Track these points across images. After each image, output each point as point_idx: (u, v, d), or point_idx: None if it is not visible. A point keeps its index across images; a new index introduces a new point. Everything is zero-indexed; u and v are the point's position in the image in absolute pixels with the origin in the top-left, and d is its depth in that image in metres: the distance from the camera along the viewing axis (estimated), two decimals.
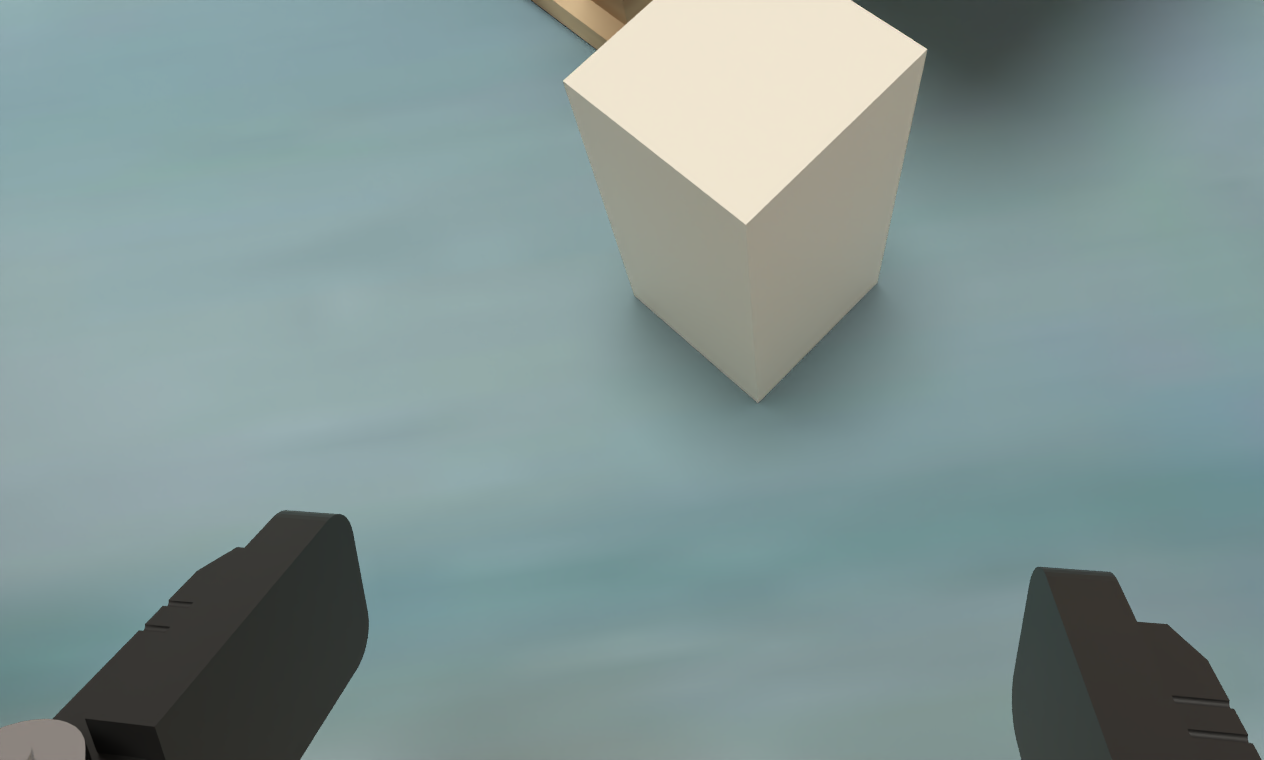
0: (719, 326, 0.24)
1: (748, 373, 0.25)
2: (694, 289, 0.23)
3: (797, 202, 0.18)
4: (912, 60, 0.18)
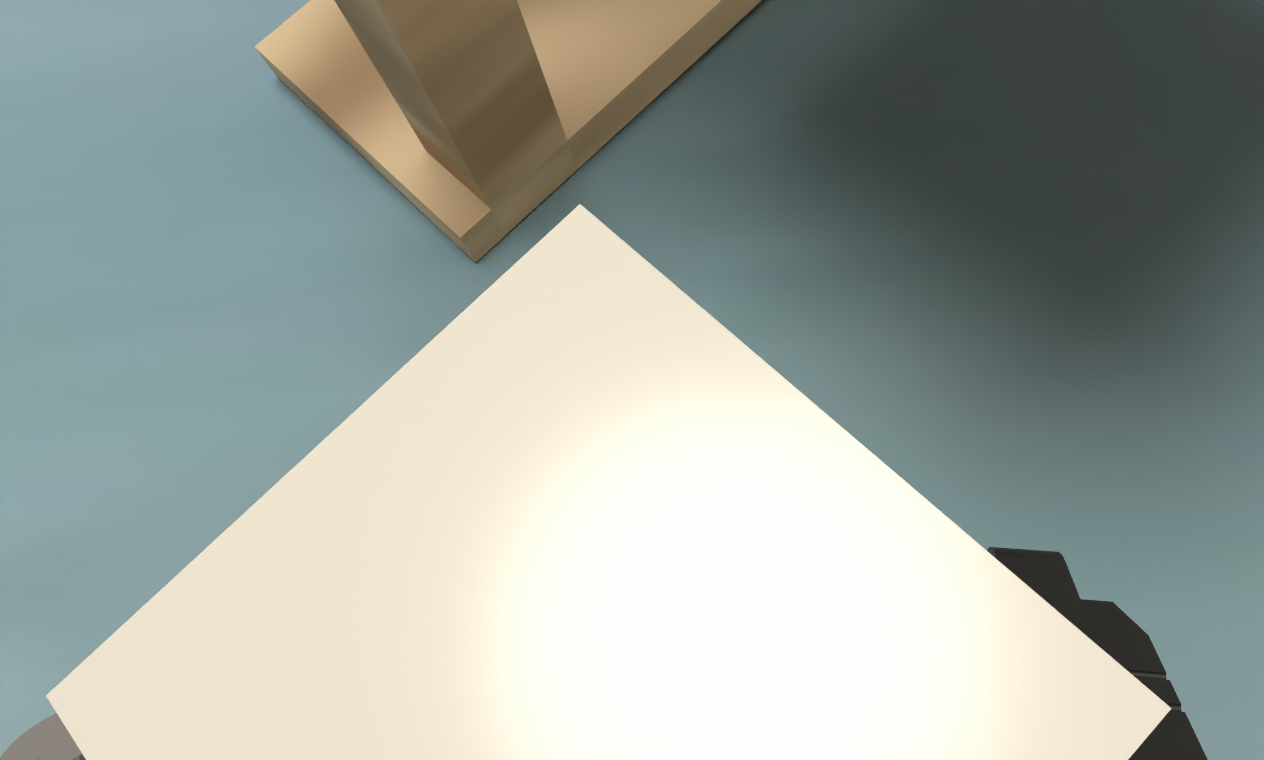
0: None
1: None
2: None
3: None
4: (1123, 751, 0.05)
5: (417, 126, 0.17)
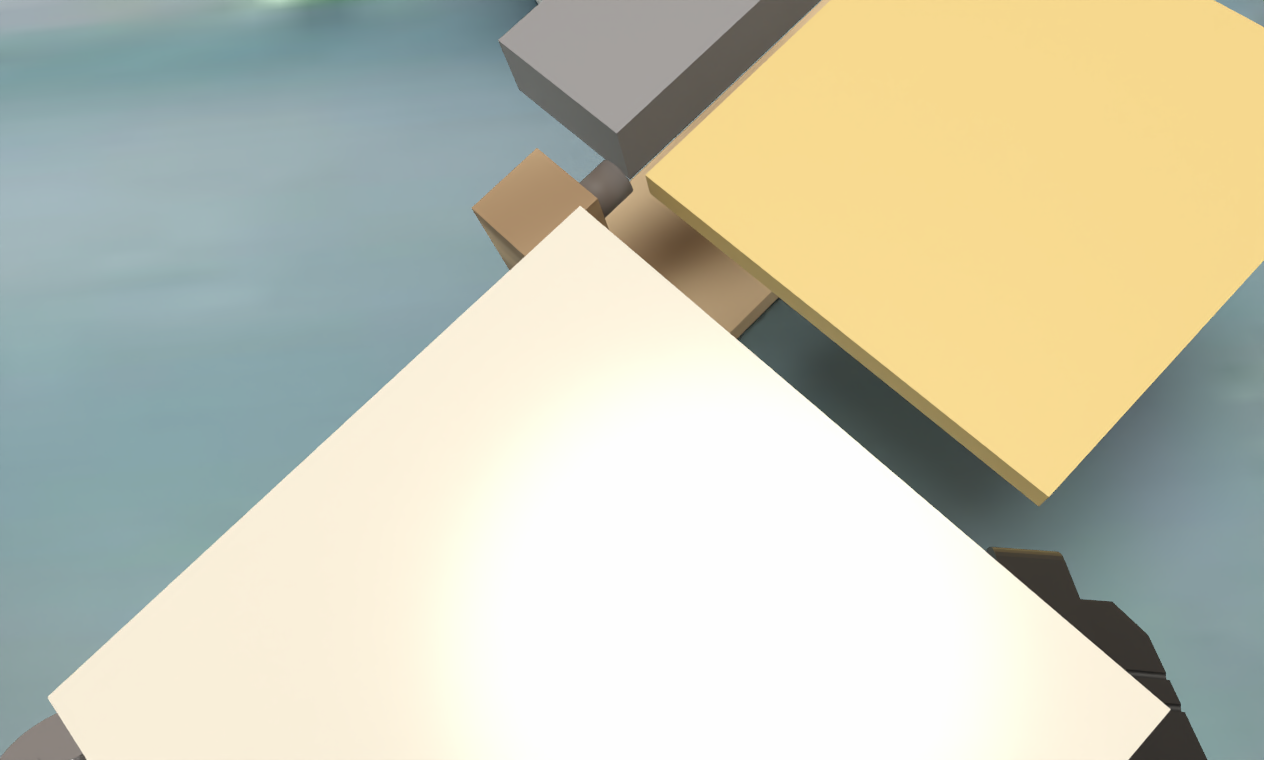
0: None
1: None
2: None
3: None
4: (1122, 752, 0.05)
5: None
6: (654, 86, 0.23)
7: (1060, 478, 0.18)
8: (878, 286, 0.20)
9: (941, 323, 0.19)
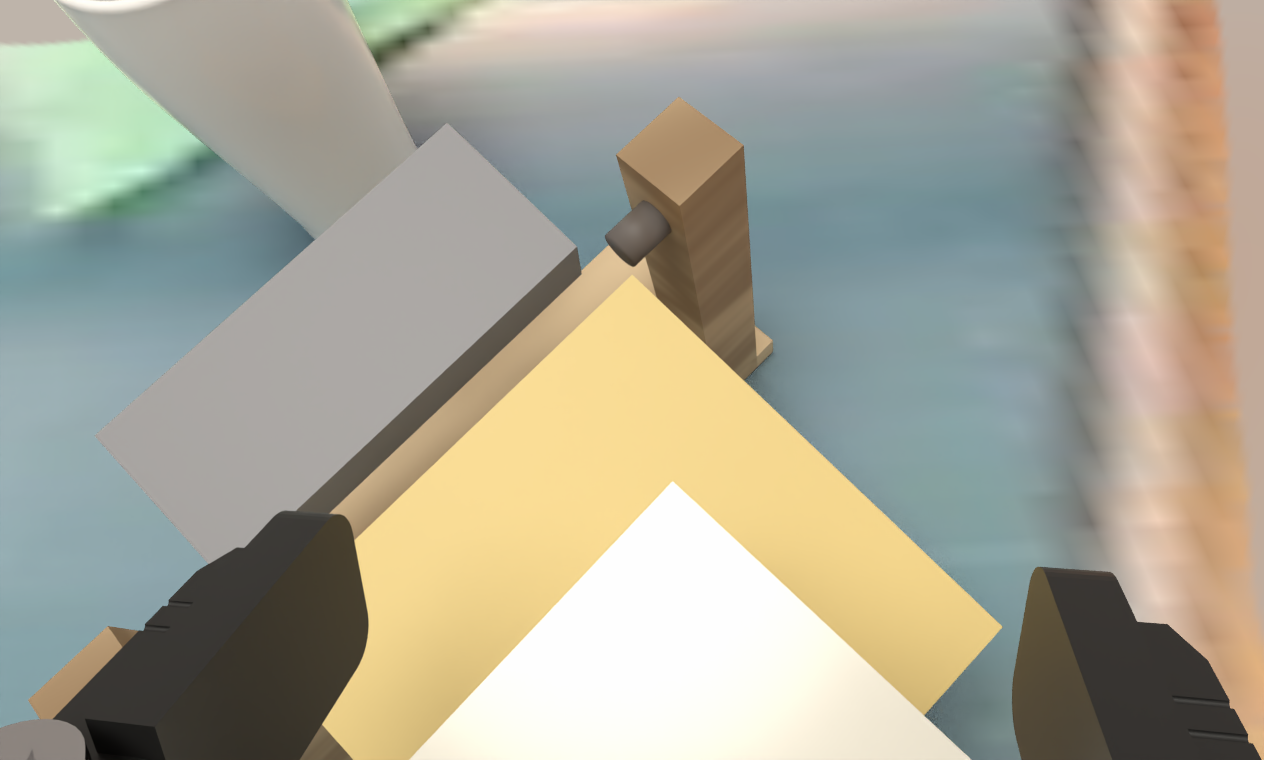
0: None
1: None
2: None
3: None
4: None
5: None
6: (268, 520, 0.20)
7: None
8: None
9: None
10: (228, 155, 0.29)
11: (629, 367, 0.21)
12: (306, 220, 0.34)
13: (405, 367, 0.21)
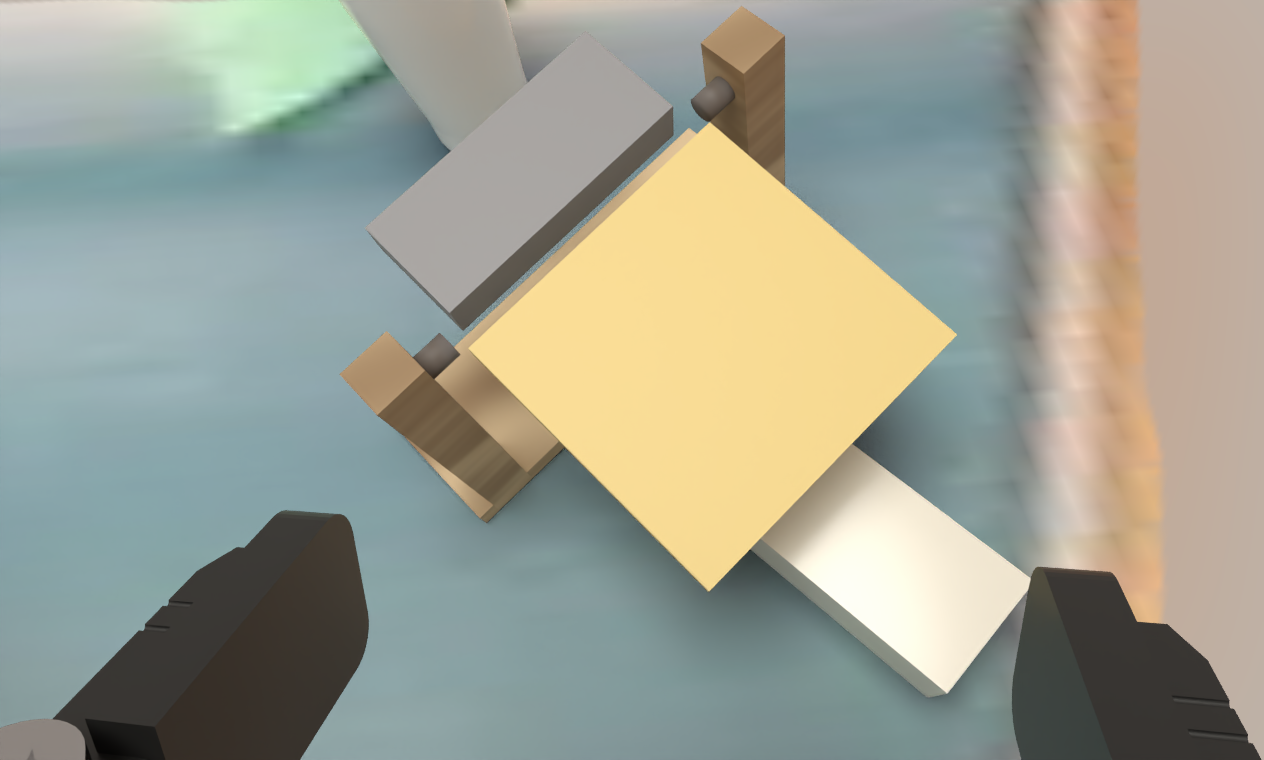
0: (795, 583, 0.38)
1: None
2: (817, 599, 0.37)
3: None
4: None
5: None
6: (477, 276, 0.32)
7: (717, 579, 0.29)
8: (618, 442, 0.30)
9: (656, 471, 0.30)
10: (404, 66, 0.41)
11: (708, 180, 0.32)
12: (445, 123, 0.45)
13: (562, 183, 0.32)
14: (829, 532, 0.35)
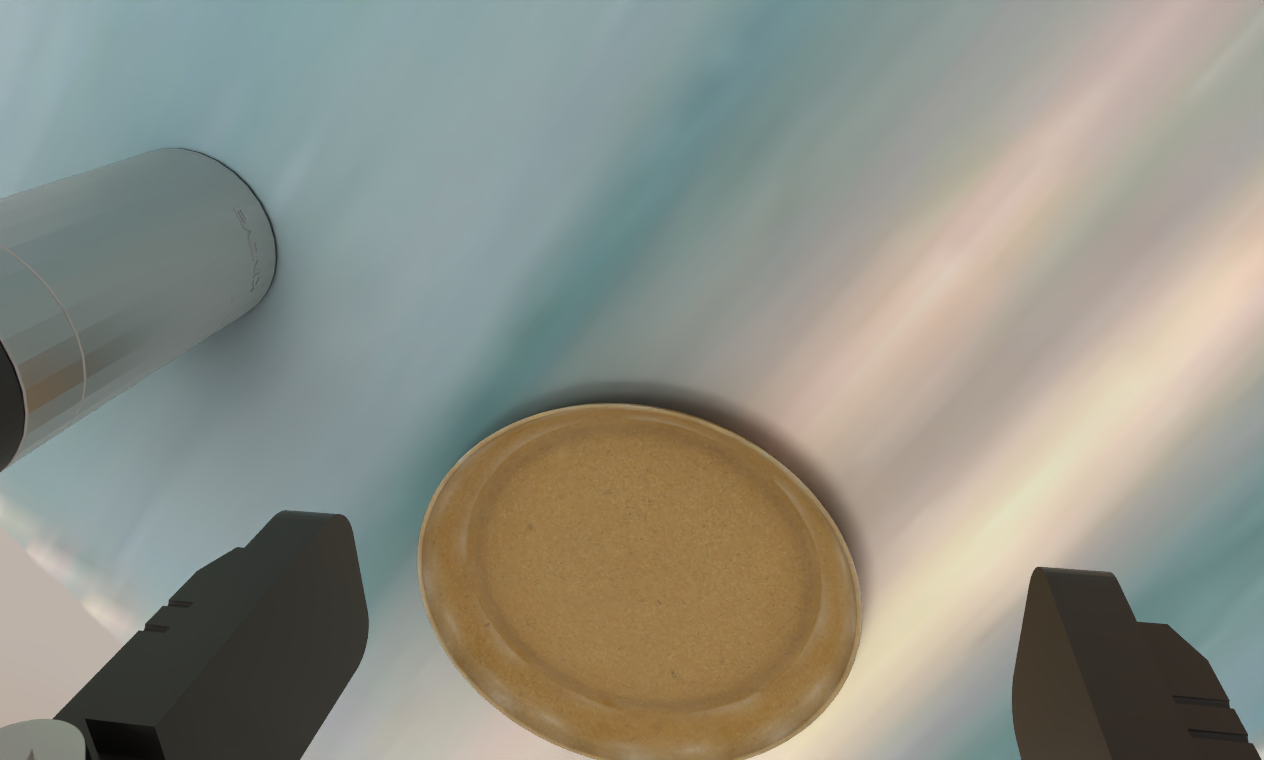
0: None
1: None
2: None
3: None
4: None
5: None
6: None
7: None
8: None
9: None
10: None
11: None
12: None
13: None
14: None
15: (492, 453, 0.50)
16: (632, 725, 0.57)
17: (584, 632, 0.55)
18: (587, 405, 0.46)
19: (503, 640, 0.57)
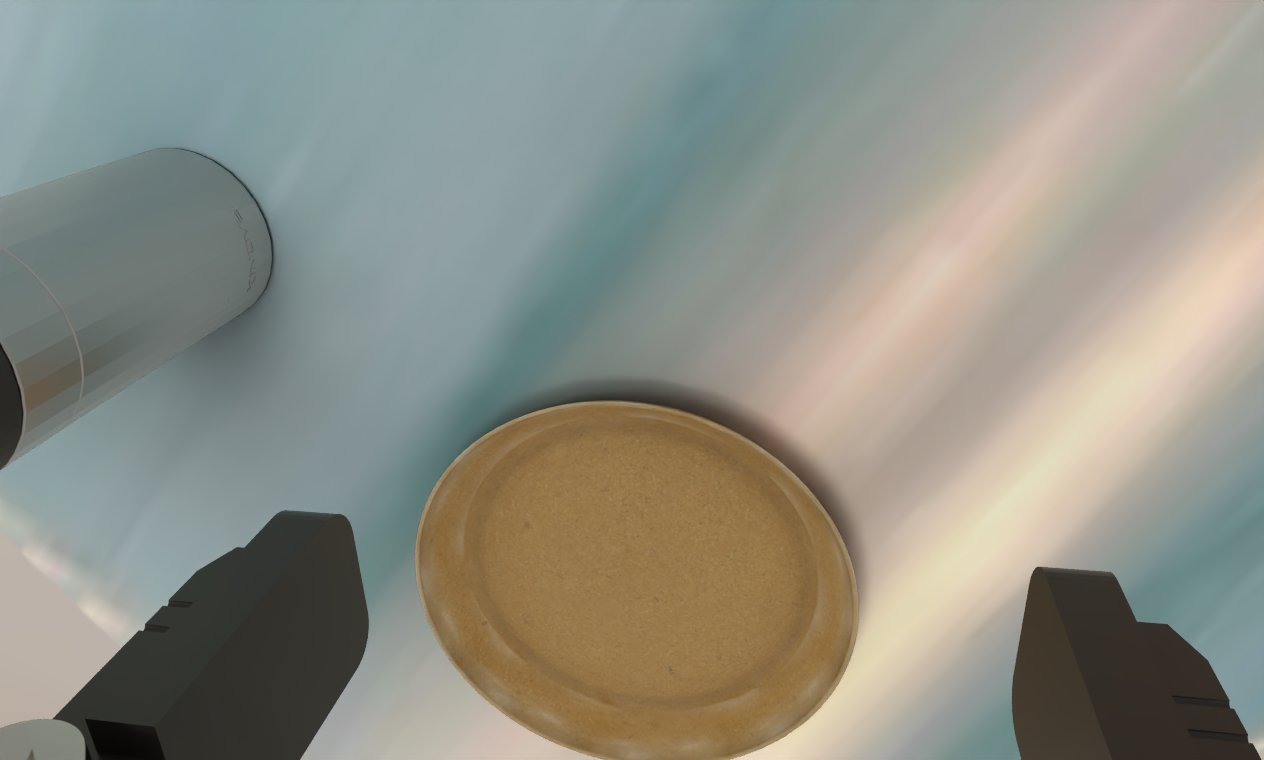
0: None
1: None
2: None
3: None
4: None
5: None
6: None
7: None
8: None
9: None
10: None
11: None
12: None
13: None
14: None
15: (489, 451, 0.50)
16: (630, 722, 0.57)
17: (582, 630, 0.55)
18: (584, 403, 0.46)
19: (501, 638, 0.57)
